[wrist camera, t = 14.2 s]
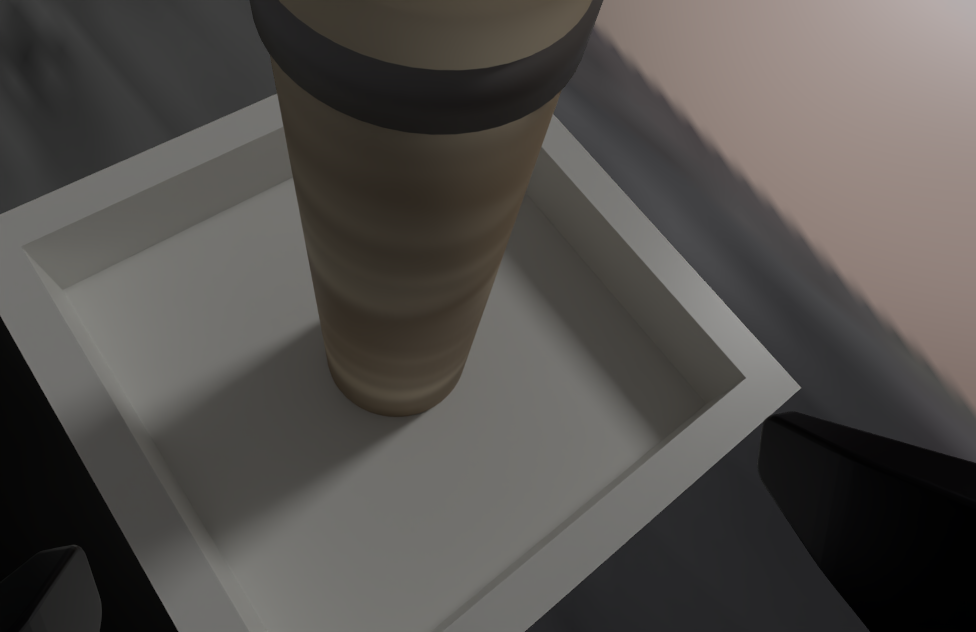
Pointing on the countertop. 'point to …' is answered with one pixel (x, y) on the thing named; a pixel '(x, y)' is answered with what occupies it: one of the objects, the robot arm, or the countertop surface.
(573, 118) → the countertop surface
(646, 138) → the countertop surface
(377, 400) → the pin
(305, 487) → the tray
